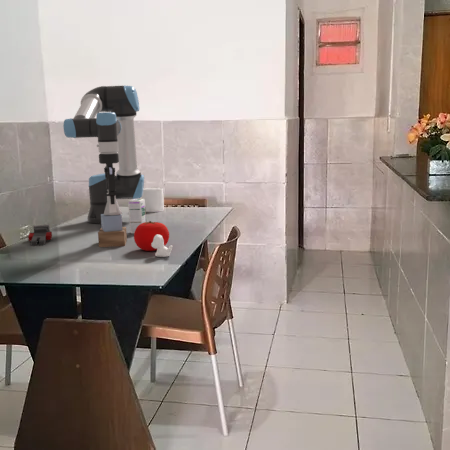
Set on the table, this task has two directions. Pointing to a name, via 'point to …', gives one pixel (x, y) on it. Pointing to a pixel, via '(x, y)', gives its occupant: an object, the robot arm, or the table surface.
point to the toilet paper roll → (153, 199)
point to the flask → (108, 209)
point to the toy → (40, 234)
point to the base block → (112, 238)
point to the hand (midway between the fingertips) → (112, 210)
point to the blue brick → (111, 222)
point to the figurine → (161, 247)
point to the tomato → (150, 234)
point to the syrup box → (136, 213)
